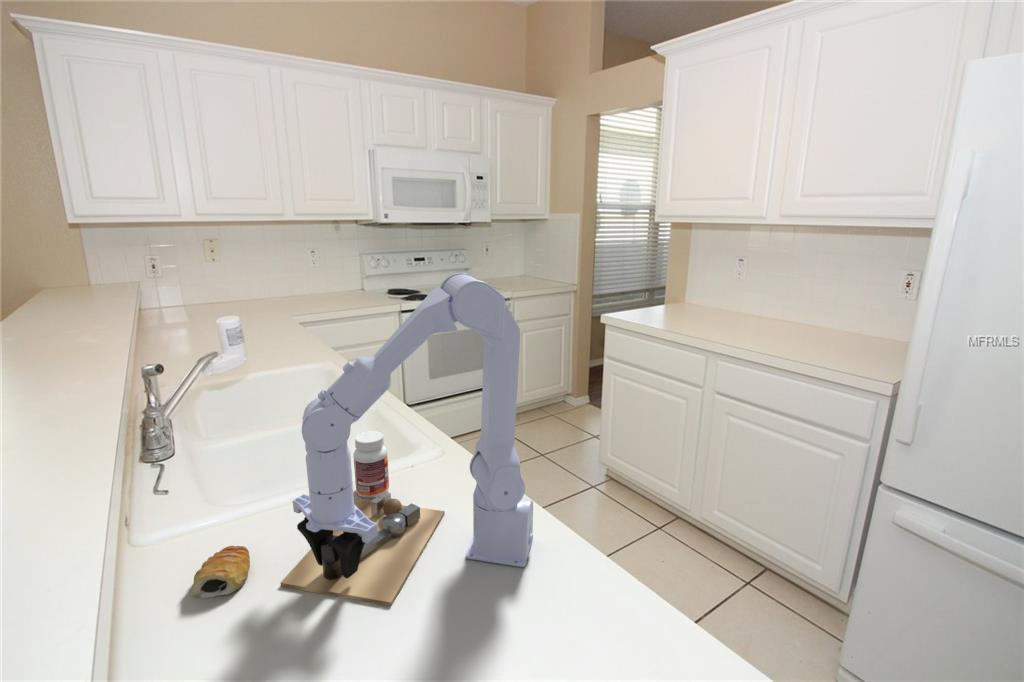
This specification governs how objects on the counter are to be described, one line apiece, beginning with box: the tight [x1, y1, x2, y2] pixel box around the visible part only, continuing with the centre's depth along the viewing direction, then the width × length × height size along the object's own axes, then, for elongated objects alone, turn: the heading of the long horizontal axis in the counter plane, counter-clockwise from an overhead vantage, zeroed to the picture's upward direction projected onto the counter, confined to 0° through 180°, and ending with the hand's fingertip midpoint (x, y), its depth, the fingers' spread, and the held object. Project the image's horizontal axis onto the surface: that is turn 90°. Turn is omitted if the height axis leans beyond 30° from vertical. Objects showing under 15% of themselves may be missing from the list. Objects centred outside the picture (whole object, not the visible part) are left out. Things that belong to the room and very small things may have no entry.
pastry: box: [189, 545, 251, 600], centre depth 73 cm, size 9×7×4 cm
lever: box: [320, 503, 421, 580], centre depth 79 cm, size 18×4×5 cm, turn 146°
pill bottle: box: [353, 430, 390, 499], centre depth 95 cm, size 6×6×11 cm
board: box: [280, 498, 445, 607], centre depth 80 cm, size 17×22×1 cm
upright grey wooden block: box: [370, 491, 392, 518], centre depth 88 cm, size 4×1×3 cm, turn 153°
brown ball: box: [383, 498, 403, 516], centre depth 87 cm, size 3×3×3 cm
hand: (337, 567), depth 73 cm, fingers open, 5 cm apart
